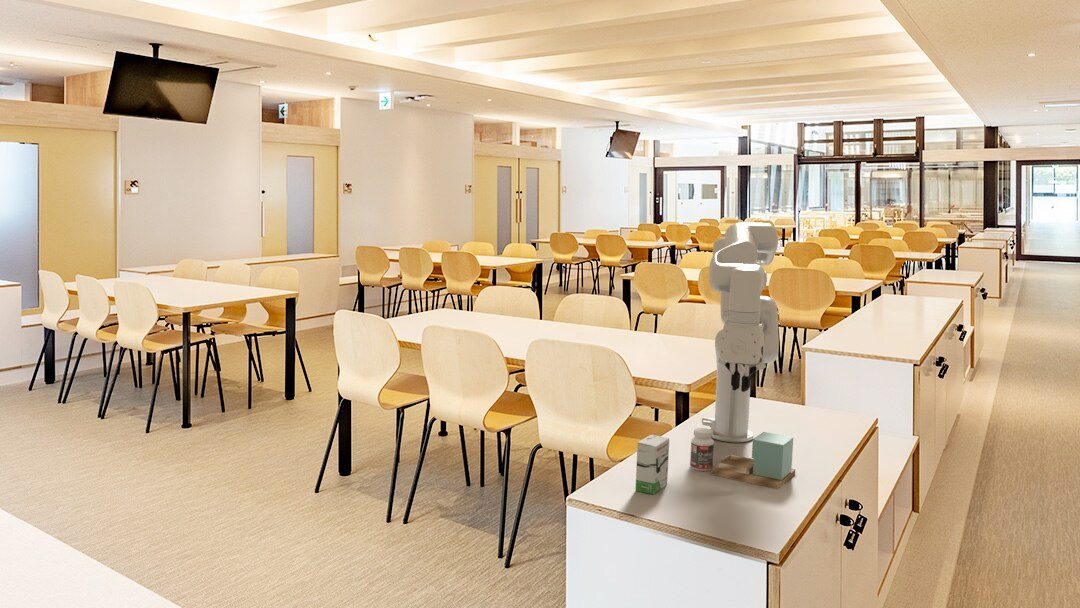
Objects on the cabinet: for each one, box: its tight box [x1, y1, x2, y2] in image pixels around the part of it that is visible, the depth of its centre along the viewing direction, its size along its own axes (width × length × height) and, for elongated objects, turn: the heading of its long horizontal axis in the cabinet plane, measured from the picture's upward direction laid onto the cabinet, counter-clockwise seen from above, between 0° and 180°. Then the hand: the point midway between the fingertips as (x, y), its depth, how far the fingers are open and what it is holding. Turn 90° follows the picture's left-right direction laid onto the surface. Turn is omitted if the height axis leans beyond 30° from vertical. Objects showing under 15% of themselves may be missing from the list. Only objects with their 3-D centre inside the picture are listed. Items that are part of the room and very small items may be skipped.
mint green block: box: [751, 431, 794, 480], centre depth 206 cm, size 8×8×9 cm
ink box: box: [635, 434, 670, 495], centre depth 198 cm, size 9×5×12 cm, turn 148°
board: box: [710, 453, 796, 490], centre depth 209 cm, size 17×13×5 cm
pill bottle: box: [689, 427, 715, 472], centre depth 212 cm, size 6×6×10 cm
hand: (740, 389), depth 208 cm, fingers closed
